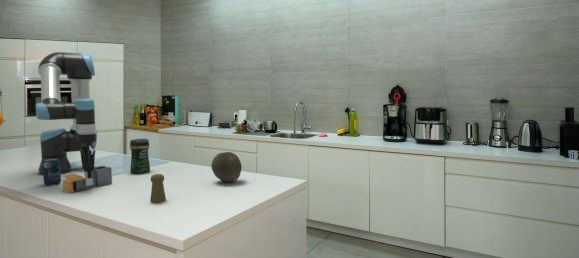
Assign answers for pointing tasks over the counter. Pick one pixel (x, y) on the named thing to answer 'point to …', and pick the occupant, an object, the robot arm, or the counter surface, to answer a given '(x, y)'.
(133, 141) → the coffee jar
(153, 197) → the cork
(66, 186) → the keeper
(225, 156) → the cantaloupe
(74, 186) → the link
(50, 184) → the soda can
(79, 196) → the counter surface
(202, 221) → the counter surface
